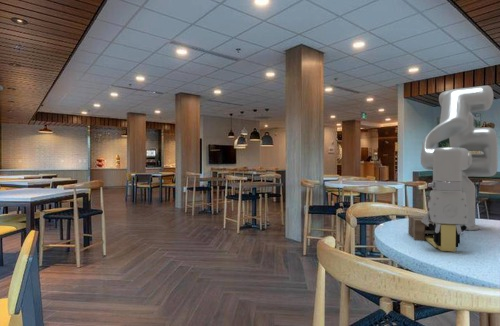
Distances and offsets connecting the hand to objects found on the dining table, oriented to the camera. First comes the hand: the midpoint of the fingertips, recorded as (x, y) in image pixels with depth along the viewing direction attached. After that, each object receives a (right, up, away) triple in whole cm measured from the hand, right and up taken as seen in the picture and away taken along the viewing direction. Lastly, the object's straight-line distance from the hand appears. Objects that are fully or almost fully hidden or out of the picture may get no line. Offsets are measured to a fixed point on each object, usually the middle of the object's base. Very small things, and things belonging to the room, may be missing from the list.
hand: (446, 244), depth 95 cm
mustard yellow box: (+2, -1, +7) cm, 7 cm away
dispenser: (+5, -2, +17) cm, 17 cm away
